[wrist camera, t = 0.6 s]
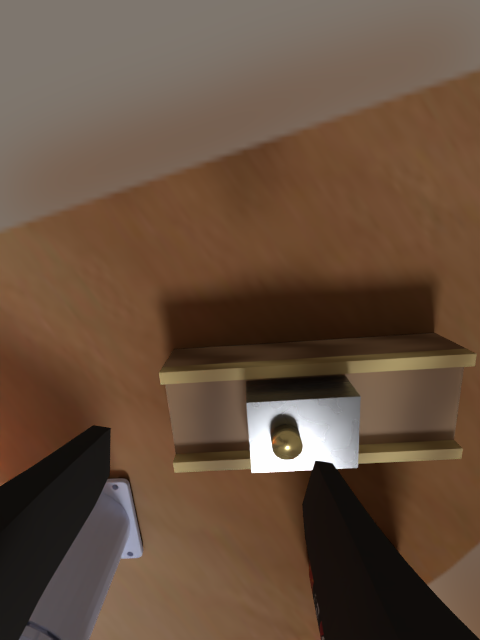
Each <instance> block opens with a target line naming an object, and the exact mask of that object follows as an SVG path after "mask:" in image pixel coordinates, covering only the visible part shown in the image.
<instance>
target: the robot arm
mask: <svg viewBox="0 0 480 640" xmlns="http://www.w3.org/2000/svg"><path fill="white" fill-rule="evenodd" d="M110 429H111V428H107V427H101V426H94V425H93V426H92V427H90V428H89V429H87V430H86V431H84V432H83V433H81V434H80V435H78V436H77V437H75V438H74V439H72V440H71V441H69V442H68V443H67V444H65V445H64V446H62V447H61V448H59V449H58V450H56V451H55V452H53V453H52V454H50V455H49V456H47V457H46V458H44V459H43V460H41V461H40V462H38V463H37V464H35V465H34V466H32V467H31V468H29V469H28V470H26V471H24V472H23V473H21V474H20V475H18V476H16V477H15V478H13V479H11V480H10V481H8V482H7V483H5V484H3V485H2V486H0V640H89V638H90V636H91V633H92V631H93V628H94V626H95V623H96V620H97V618H98V615H99V613H100V610H101V608H102V605H103V602H104V600H105V597H106V595H107V592H108V590H109V587H110V584H111V582H112V579H113V577H114V574H115V571H116V569H117V566H118V564H119V561H120V559H121V558H139V557H141V556H142V553H143V546H142V541H141V537H140V532H139V527H138V522H137V517H136V513H135V508H134V503H133V498H132V494H131V489H130V484H129V481H128V480H127V479H124V478H118V479H108V477H109V475H110ZM116 485H117V486H116ZM302 505H303V518H304V529H305V539H306V544H307V550H308V555H309V560H310V566H311V571H312V576H313V581H314V586H315V591H316V596H317V601H318V607H319V612H320V617H321V622H322V628H323V634H324V640H480V639H479V638H478V637H477V636H476V635H475V634H474V633H473V632H472V631H471V630H470V629H469V628H468V627H467V626H466V625H465V624H464V623H463V622H462V621H461V620H460V619H458V617H457V616H456V615H455V614H454V613H453V612H452V611H451V610H450V609H449V608H448V607H447V606H446V605H445V604H444V603H443V602H442V601H441V600H440V599H439V598H438V597H437V595H436V594H435V593H434V592H433V591H432V590H431V589H430V588H429V587H428V586H427V584H426V583H425V582H424V581H423V580H422V579H421V578H420V577H419V576H418V574H417V573H416V572H415V571H414V570H413V569H412V568H411V567H410V565H409V564H408V563H407V562H406V561H405V560H404V558H403V557H402V556H401V555H400V553H399V552H398V551H397V550H396V549H395V547H394V546H393V545H392V544H391V542H390V541H389V540H388V539H387V538H386V536H385V535H384V534H383V532H382V531H381V530H380V529H379V527H378V526H377V525H376V523H375V522H374V521H373V519H372V518H371V517H370V515H369V514H368V513H367V511H366V510H365V509H364V507H363V506H362V504H361V503H360V502H359V500H358V499H357V497H356V496H355V495H354V493H353V492H352V490H351V489H350V487H349V486H348V485H347V483H346V482H345V480H344V479H343V477H342V476H341V475H340V473H339V472H338V470H337V469H336V467H335V466H334V465H333V463H329V462H323V461H316V460H315V462H314V466H313V469H312V473H311V476H310V480H309V483H308V487H307V490H306V494H305V497H304V501H303V504H302Z"/></svg>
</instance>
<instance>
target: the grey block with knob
mask: <svg viewBox="0 0 480 640" xmlns="http://www.w3.org/2000/svg"><path fill="white" fill-rule="evenodd" d="M360 402H361V396H360V395H359V393H358V392H357V391H356V389H355V388H354V387H353V385H352V384H351V382H350V381H349V380H348V378H347V377H346V376H345V375H340V376H323V377H306V378H289V379H272V380H255V381H246V405H247V418H248V432H249V445H250V458H251V471H252V473H260V472H281V471H302V470H312V469H313V466H314V462H315V460H316V461H323V462H329V463H333V465H334V466H335V467H336V469H344V468H358V454H359V428H360Z"/></svg>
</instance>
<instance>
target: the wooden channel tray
mask: <svg viewBox="0 0 480 640" xmlns="http://www.w3.org/2000/svg"><path fill="white" fill-rule="evenodd" d="M476 355H477V354H476V353H474V352H472V351H470V350H468V349H466V348H464V347H462V346H460V345H458V344H456V343H454V342H452V341H450V340H448V339H446V338H444V337H442V336H440V335H438V334H436V333H425V334H409V335H393V336H377V337H361V338H345V339H330V340H314V341H298V342H282V343H266V344H250V345H234V346H218V347H202V348H186V349H174V350H173V351H172V353H171V355H170V356H169V358H168V359H167V361H166V362H165V364H164V366H163V367H162V369H161V370H160V372H159V377H160V384H161V385H162V384H165V387H166V393H167V400H168V406H169V413H170V419H171V426H172V432H173V439H174V445H175V452H176V455H175V458H174V461H173V466H174V472H175V473H176V472H197V471H217V470H238V469H251V458H250V445H249V432H248V418H247V405H246V381H255V380H272V379H289V378H306V377H323V376H340V375H345V376H346V377H347V378H348V380H349V381H350V382H351V384H352V385H353V387H354V388H355V389H356V391H357V392H358V393H359V395H360V396H361V402H360V428H359V454H358V464H362V463H383V462H404V461H424V460H445V459H461V456H462V450H463V448H462V447H461V446H460V445H459V444H457V443H456V442H455V441H454V435H455V428H456V421H457V413H458V406H459V399H460V391H461V384H462V377H463V370H464V367H468V366H475V361H476Z"/></svg>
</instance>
